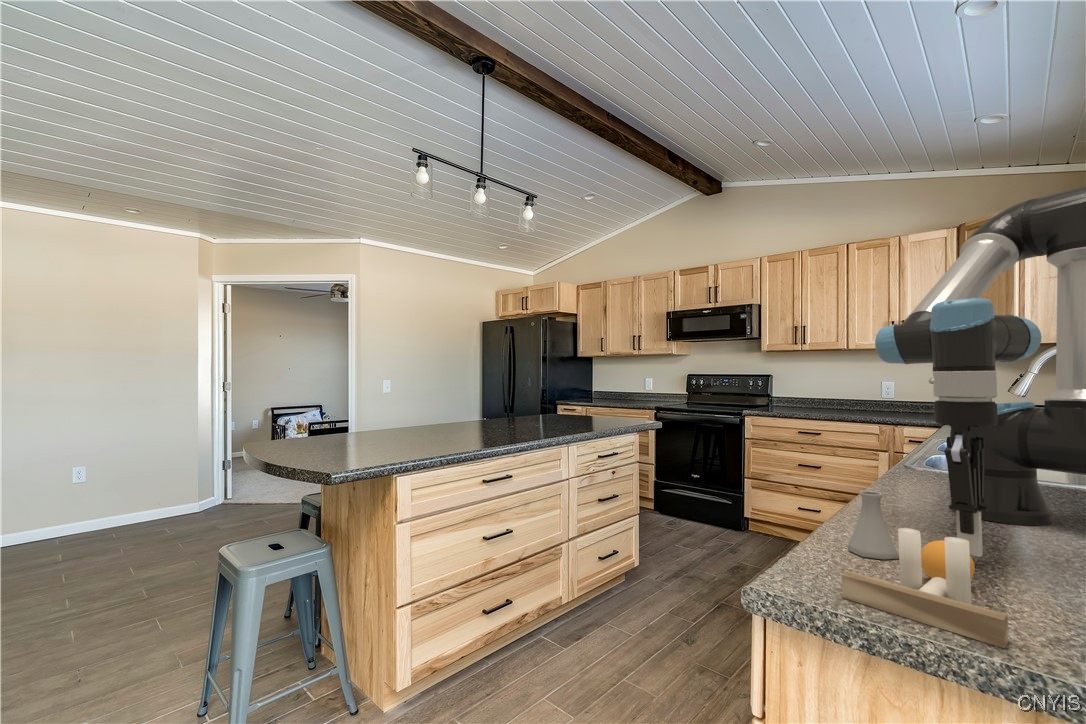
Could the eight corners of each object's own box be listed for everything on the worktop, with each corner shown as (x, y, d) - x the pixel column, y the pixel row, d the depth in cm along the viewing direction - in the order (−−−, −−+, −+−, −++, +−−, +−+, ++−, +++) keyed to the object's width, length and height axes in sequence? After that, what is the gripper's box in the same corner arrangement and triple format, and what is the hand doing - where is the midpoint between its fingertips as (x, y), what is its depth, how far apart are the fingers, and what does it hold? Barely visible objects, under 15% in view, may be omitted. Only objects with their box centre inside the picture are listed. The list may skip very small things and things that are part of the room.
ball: (912, 578, 70) (927, 580, 73) (967, 591, 65) (980, 592, 68) (913, 534, 71) (927, 537, 74) (967, 544, 66) (980, 547, 70)
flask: (908, 562, 78) (906, 498, 78) (857, 559, 79) (855, 497, 80) (886, 547, 85) (884, 488, 85) (840, 544, 87) (838, 487, 87)
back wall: (848, 593, 67) (847, 571, 67) (1008, 642, 55) (1007, 614, 55) (842, 597, 66) (841, 574, 66) (1004, 648, 53) (1003, 620, 54)
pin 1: (903, 589, 68) (901, 526, 69) (925, 595, 66) (922, 530, 67) (898, 594, 67) (895, 530, 67) (919, 600, 65) (917, 534, 65)
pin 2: (949, 601, 64) (947, 535, 65) (973, 608, 63) (971, 540, 63) (944, 607, 63) (942, 539, 63) (969, 614, 61) (966, 544, 61)
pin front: (928, 574, 68) (907, 592, 62) (950, 579, 66) (931, 598, 60) (930, 593, 67) (909, 612, 62) (952, 598, 66) (933, 618, 60)
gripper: (945, 397, 84) (950, 538, 83) (921, 400, 76) (927, 556, 75) (1005, 398, 78) (1011, 550, 77) (986, 402, 70) (993, 571, 69)
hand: (970, 553), depth 76 cm, fingers closed
